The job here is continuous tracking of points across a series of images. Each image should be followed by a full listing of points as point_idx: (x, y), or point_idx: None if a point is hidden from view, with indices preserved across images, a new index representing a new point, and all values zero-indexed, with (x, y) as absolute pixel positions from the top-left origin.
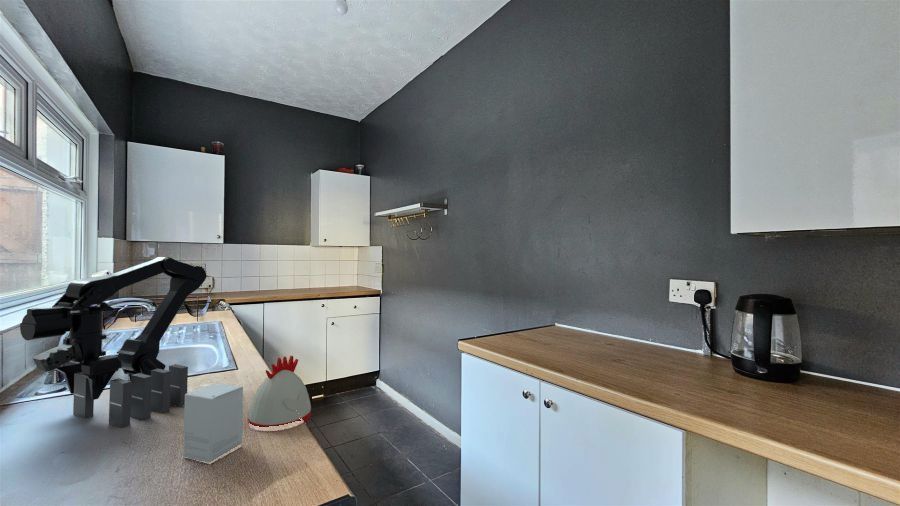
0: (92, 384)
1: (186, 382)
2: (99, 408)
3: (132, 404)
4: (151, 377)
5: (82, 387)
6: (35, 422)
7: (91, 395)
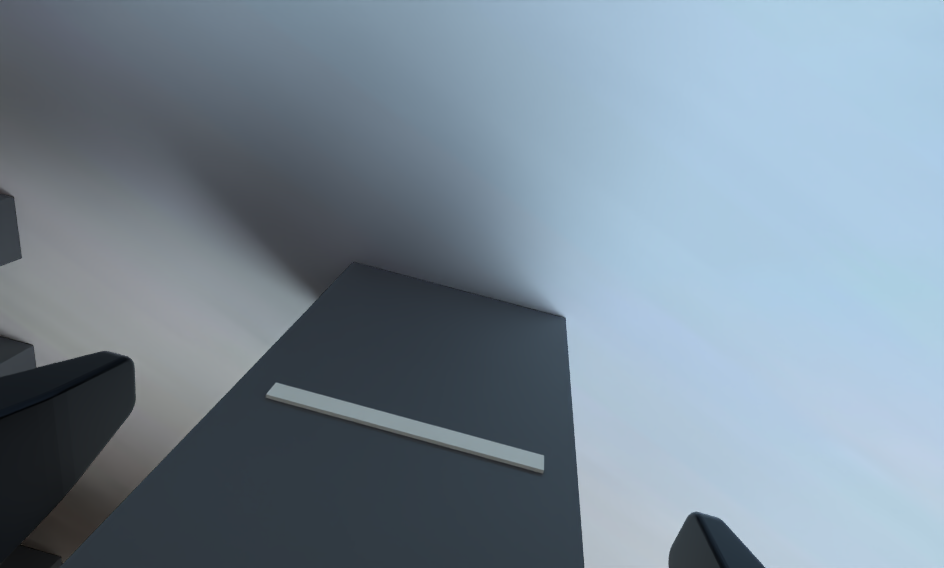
0: None
1: None
2: None
3: None
4: None
5: (252, 525)
6: (775, 84)
7: (47, 376)
